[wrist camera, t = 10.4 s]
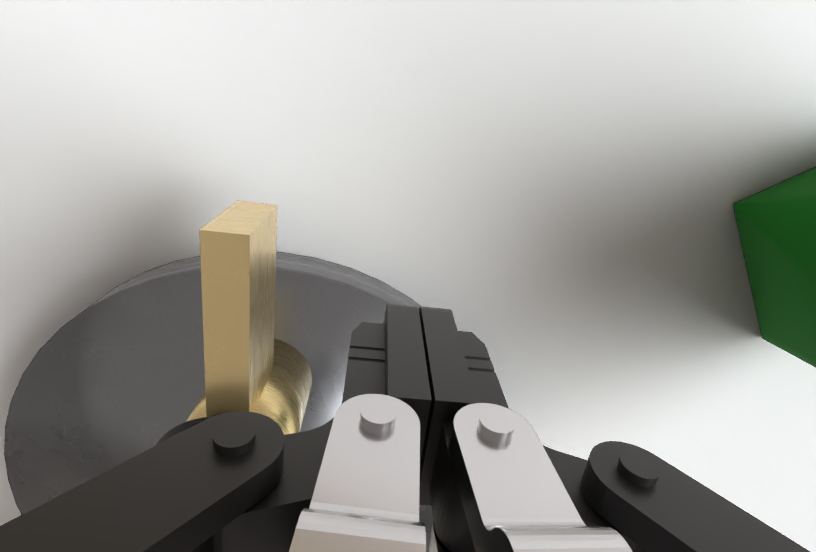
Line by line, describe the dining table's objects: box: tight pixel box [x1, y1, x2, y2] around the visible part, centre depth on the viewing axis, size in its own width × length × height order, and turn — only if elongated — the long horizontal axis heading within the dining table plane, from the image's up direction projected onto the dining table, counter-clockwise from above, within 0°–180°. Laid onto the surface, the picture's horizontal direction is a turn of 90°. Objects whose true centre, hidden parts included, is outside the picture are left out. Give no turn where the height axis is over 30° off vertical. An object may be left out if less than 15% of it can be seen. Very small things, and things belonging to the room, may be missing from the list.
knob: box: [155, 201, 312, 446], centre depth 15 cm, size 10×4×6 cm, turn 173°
